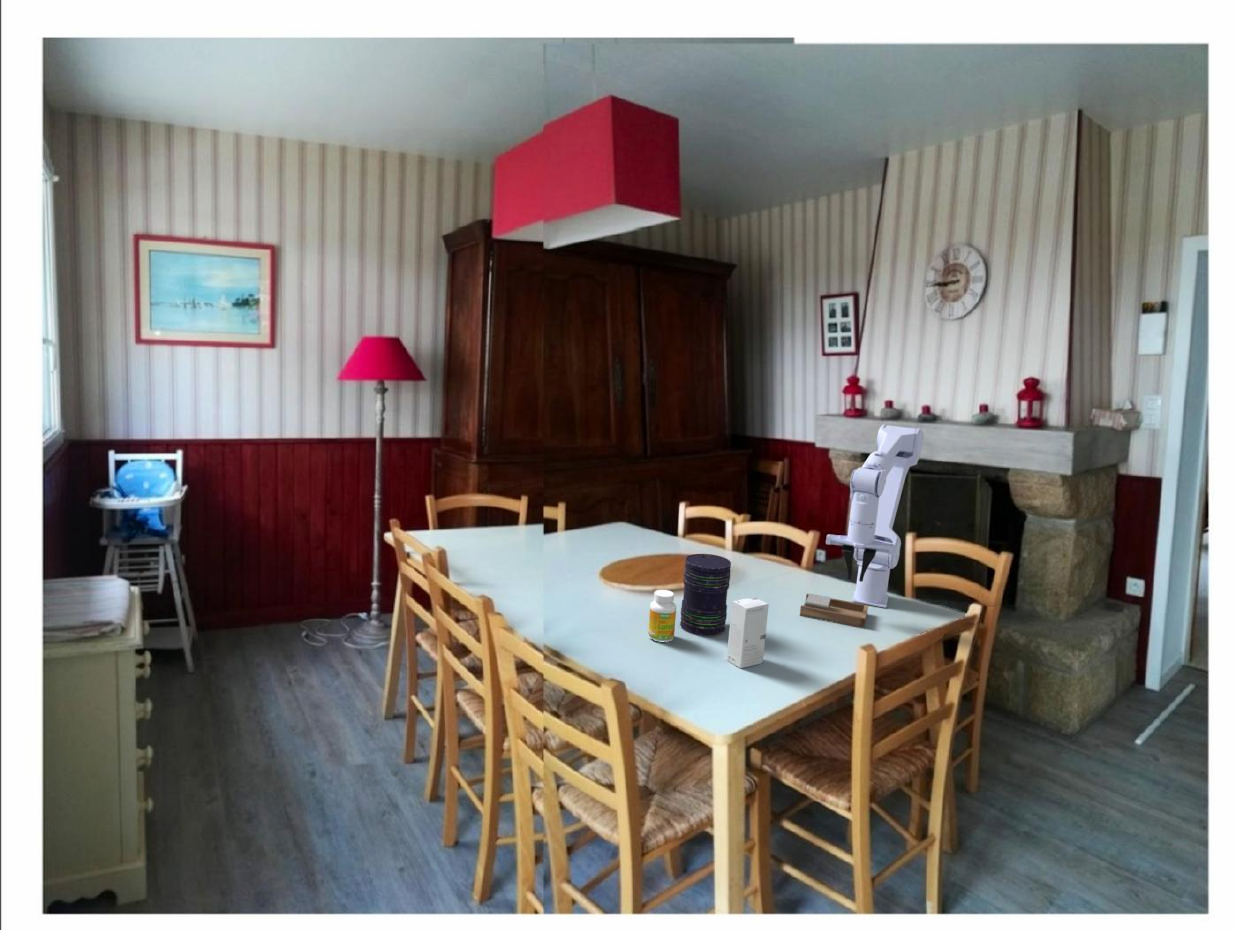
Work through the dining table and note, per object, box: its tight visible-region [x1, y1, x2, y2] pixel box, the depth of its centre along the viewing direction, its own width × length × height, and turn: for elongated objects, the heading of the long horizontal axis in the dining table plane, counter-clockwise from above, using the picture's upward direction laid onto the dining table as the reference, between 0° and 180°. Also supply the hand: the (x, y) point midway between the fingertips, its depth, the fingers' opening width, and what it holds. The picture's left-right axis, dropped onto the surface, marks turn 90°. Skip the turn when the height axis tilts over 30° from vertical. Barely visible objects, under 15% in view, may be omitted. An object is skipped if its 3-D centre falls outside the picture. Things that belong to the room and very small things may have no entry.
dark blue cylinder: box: [679, 553, 732, 637], centre depth 154 cm, size 10×10×15 cm
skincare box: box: [726, 597, 769, 669], centre depth 139 cm, size 6×4×12 cm
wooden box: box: [799, 593, 869, 629], centre depth 167 cm, size 10×14×2 cm
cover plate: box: [804, 593, 832, 611], centre depth 168 cm, size 6×5×2 cm
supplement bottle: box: [647, 589, 677, 643], centre depth 148 cm, size 5×5×10 cm
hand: (855, 579), depth 164 cm, fingers closed
